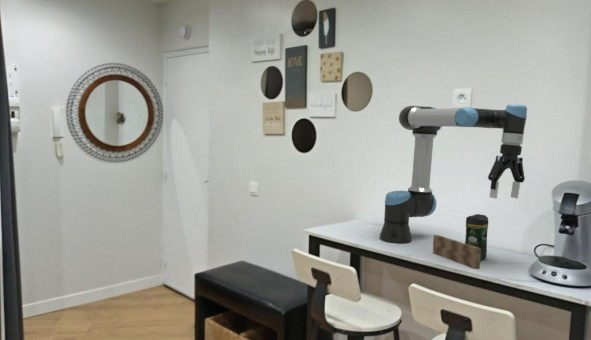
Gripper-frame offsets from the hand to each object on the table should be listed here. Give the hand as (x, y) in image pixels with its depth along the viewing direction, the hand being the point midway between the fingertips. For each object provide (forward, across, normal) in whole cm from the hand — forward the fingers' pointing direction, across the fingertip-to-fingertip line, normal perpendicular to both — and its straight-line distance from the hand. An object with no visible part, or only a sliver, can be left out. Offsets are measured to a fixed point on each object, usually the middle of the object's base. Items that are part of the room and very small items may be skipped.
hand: (503, 197), depth 180 cm
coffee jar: (+28, 0, +9) cm, 29 cm away
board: (+28, -11, +11) cm, 32 cm away
